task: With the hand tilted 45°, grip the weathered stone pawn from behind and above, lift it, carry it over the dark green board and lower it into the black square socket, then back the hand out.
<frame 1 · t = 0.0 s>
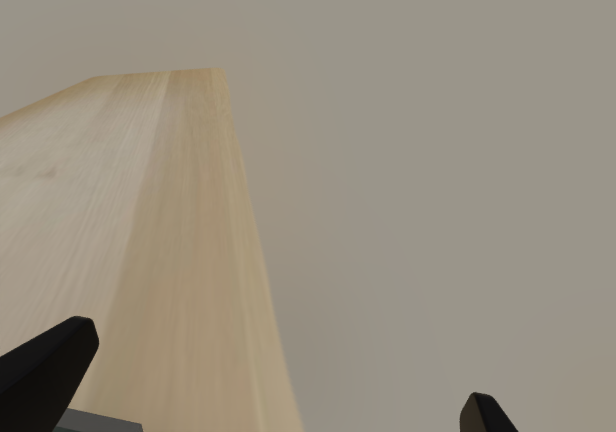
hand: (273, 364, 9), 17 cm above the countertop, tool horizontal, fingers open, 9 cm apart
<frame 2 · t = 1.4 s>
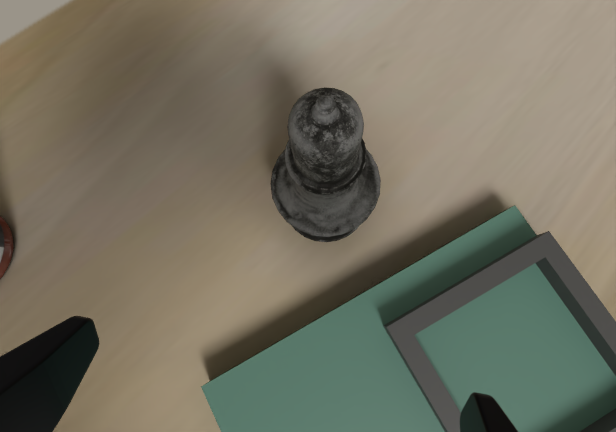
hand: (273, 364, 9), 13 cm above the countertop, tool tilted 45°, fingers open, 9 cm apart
socket board: (437, 425, 20), on the countertop
weathered stone pawn: (325, 201, 24), on the countertop
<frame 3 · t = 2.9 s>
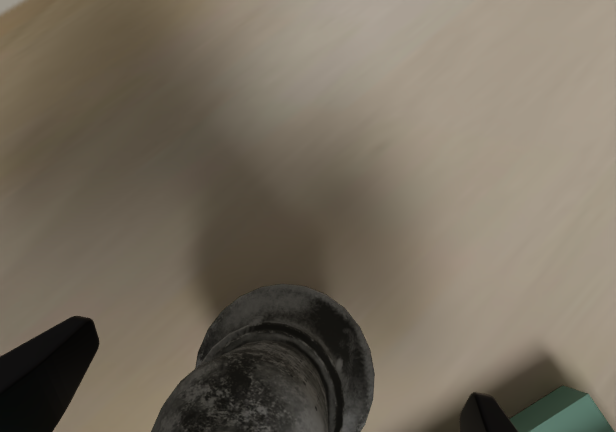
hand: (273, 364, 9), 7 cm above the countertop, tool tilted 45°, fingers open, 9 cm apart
weathered stone pawn: (292, 359, 16), on the countertop
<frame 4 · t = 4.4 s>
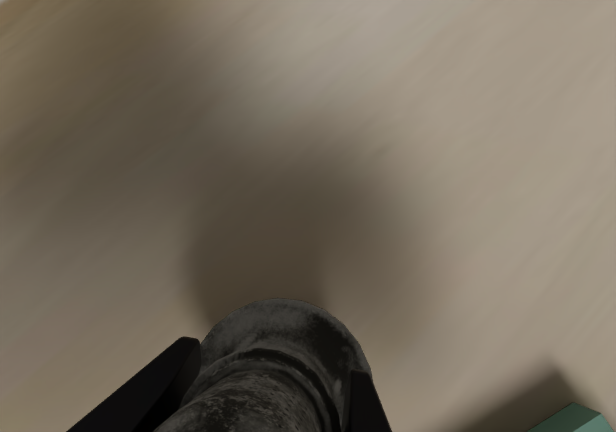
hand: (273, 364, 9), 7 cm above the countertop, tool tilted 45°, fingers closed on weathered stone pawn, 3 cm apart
weathered stone pawn: (289, 374, 15), on the countertop, touching gripper
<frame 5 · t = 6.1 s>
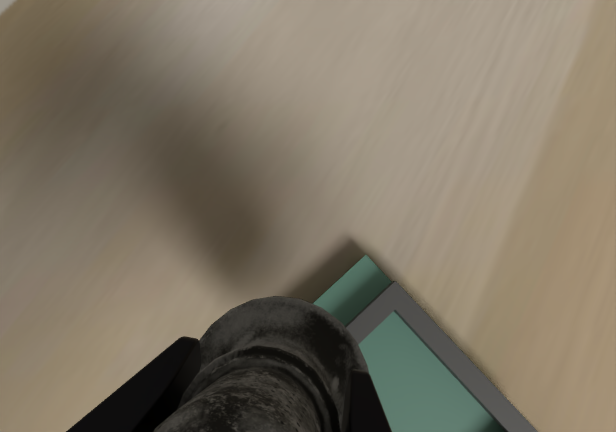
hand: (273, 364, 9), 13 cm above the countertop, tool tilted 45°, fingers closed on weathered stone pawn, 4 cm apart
weathered stone pawn: (286, 372, 15), point 6 cm above the countertop, touching gripper
when the fingers open (9 cm above the countertop, at t = 8.3 s): weathered stone pawn stays where it is, resting on socket board.
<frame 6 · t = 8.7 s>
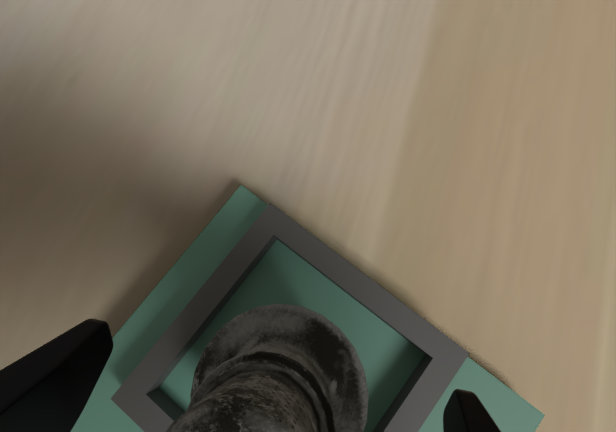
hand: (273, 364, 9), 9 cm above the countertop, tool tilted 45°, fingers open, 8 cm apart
weathered stone pawn: (289, 374, 16), point 1 cm above the countertop, touching socket board
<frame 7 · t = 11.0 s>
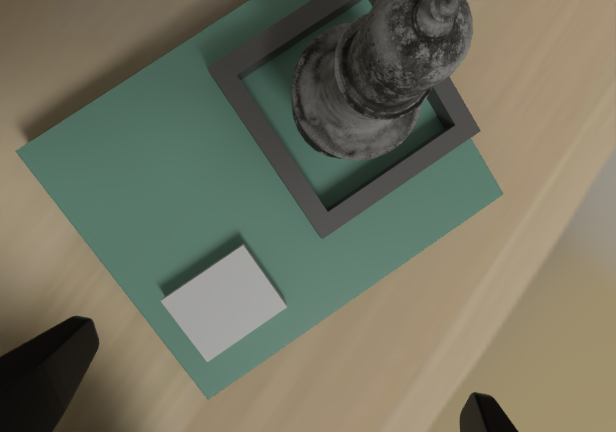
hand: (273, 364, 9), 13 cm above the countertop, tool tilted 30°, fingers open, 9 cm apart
socket board: (276, 174, 21), on the countertop
weathered stone pawn: (341, 109, 20), point 1 cm above the countertop, touching socket board
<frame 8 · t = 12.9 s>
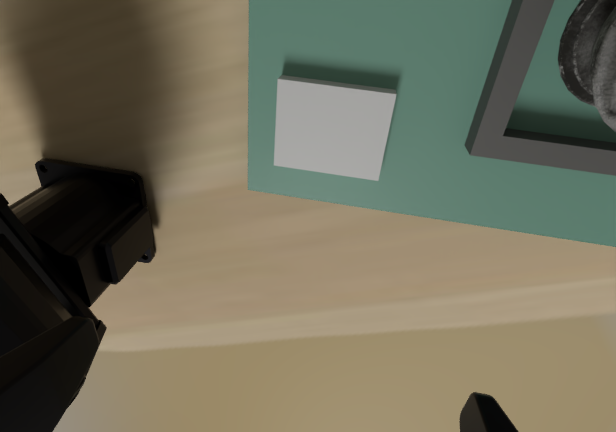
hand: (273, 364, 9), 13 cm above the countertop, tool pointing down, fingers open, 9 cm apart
socket board: (486, 44, 16), on the countertop
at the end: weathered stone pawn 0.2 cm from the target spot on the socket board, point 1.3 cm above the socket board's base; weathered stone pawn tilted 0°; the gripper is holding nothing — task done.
